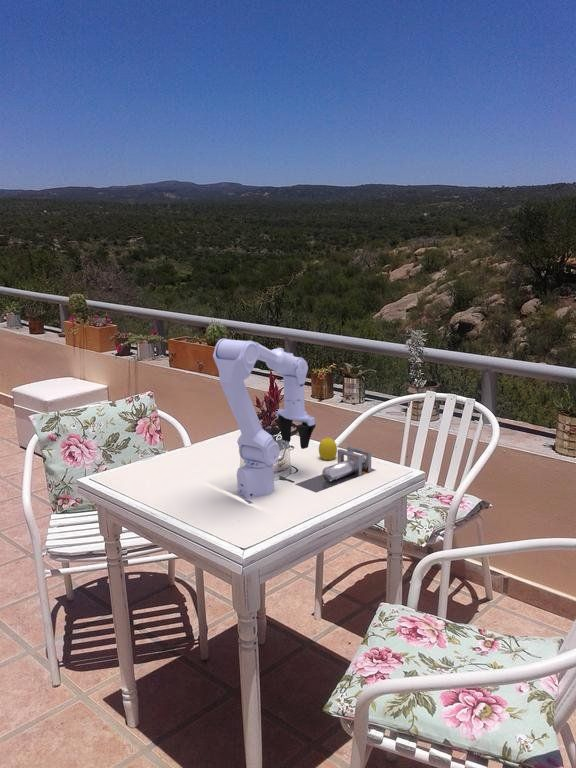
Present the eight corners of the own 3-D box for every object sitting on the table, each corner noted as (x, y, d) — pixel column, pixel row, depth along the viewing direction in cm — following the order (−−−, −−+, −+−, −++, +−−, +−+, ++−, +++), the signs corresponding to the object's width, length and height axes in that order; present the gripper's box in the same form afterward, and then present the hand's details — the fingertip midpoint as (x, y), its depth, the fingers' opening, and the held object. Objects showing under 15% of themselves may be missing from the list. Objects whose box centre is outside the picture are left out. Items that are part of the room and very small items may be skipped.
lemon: (337, 465, 197) (337, 439, 196) (319, 465, 197) (318, 440, 196) (336, 459, 203) (336, 434, 201) (318, 459, 203) (318, 434, 201)
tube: (330, 484, 180) (334, 473, 178) (320, 475, 183) (324, 464, 181) (367, 471, 190) (371, 460, 188) (357, 462, 192) (361, 451, 190)
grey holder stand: (316, 496, 174) (315, 471, 172) (294, 488, 180) (293, 464, 179) (376, 473, 189) (376, 450, 187) (354, 466, 195) (354, 444, 194)
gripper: (322, 400, 181) (323, 447, 184) (287, 392, 192) (289, 436, 195) (303, 405, 177) (304, 453, 180) (269, 396, 188) (271, 442, 191)
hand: (295, 445), depth 187 cm, fingers open, 7 cm apart
